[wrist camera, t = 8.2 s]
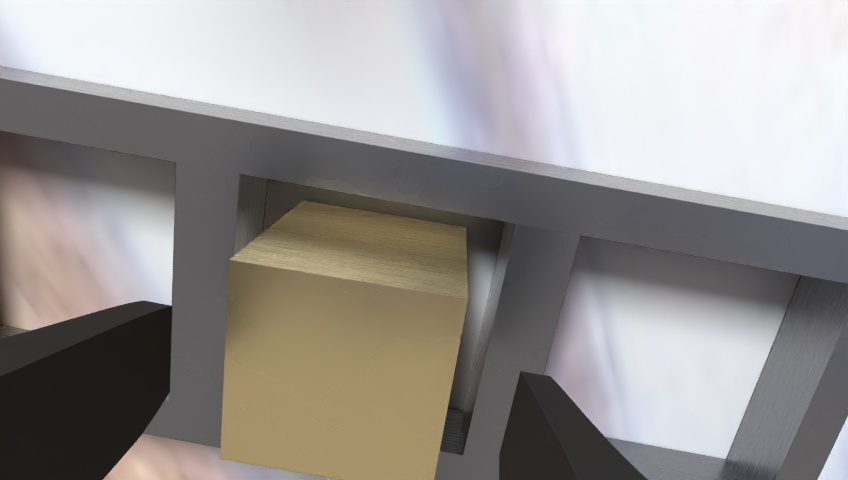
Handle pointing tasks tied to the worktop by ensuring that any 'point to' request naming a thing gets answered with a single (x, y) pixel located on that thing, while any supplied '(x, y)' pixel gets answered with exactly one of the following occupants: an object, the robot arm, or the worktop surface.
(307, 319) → the tan rectangular block
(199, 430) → the grey compartment tray
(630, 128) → the worktop surface
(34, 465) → the robot arm
